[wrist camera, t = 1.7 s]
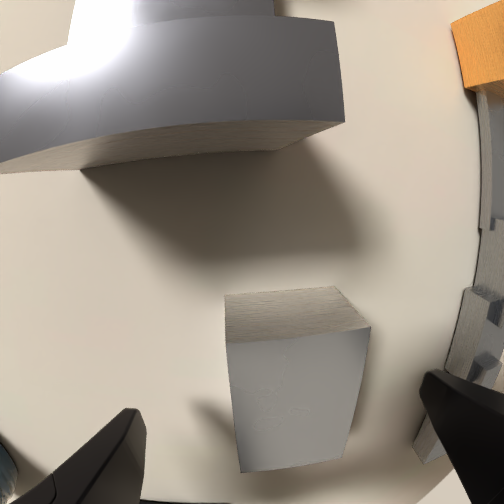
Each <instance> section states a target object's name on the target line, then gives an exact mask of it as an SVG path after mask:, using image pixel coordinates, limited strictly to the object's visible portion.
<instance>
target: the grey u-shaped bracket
mask: <svg viewBox="0 0 504 504" xmlns="http://www.w3.org/2000/svg"><path fill="white" fill-rule="evenodd" d="M344 122H345V115H344V102H343V91H342V80H341V71H340V62H339V54H338V47H337V39H336V33H335V26H334V22H332V21H325V20H317V19H309V18H298V17H285V16H275V11H274V1H273V0H76V4H75V8H74V13H73V18H72V23H71V28H70V34H69V40H68V45H66V46H64V47H61V48H58V49H55V50H53V51H50V52H48V53H45V54H42V55H40V56H38V57H35V58H33V59H31V60H28V61H26V62H24V63H22V64H19V65H17V66H15V67H13V68H11V69H9V70H7V71H5V72H3V73H1V74H0V174H7V173H21V172H37V171H58V170H80V169H86V168H91V167H97V166H103V165H109V164H116V163H122V162H129V161H136V160H144V159H152V158H161V157H170V156H180V155H190V154H203V153H217V152H233V151H257V150H278V149H281V148H283V147H285V146H287V145H290V144H292V143H294V142H297V141H299V140H302V139H304V138H306V137H309V136H311V135H314V134H316V133H319V132H321V131H324V130H326V129H329V128H331V127H334V126H336V125H339V124H342V123H344Z"/></svg>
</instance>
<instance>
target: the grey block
mask: <svg viewBox="0 0 504 504" xmlns="http://www.w3.org/2000/svg"><path fill="white" fill-rule="evenodd" d="M370 331H371V326H370V325H369V324H368V323H367V322H366V321H365V320H364V318H363V317H362V316H361V315H360V314H359V313H358V312H357V311H356V310H355V309H354V307H353V306H352V305H351V304H350V303H349V302H348V301H347V300H346V299H345V298H344V297H343V295H342V294H341V293H340V292H339V291H338V290H337V289H336V288H335V287H334V286H329V287H319V288H308V289H296V290H284V291H272V292H258V293H244V294H229V295H225V341H226V353H227V363H228V373H229V382H230V391H231V400H232V409H233V417H234V425H235V433H236V441H237V449H238V456H239V464H240V471H241V473H246V472H258V471H268V470H276V469H284V468H291V467H297V466H303V465H309V464H314V463H319V462H324V461H329V460H334V459H338V458H342V455H343V452H344V448H345V445H346V442H347V438H348V434H349V431H350V427H351V423H352V419H353V415H354V411H355V407H356V403H357V399H358V394H359V390H360V385H361V381H362V376H363V371H364V366H365V360H366V355H367V349H368V343H369V337H370Z"/></svg>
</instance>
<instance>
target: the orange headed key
mask: <svg viewBox="0 0 504 504" xmlns="http://www.w3.org/2000/svg"><path fill="white" fill-rule="evenodd" d="M451 27H452V31H453V35H454V38H455V42H456V47H457V51H458V55H459V60H460V65H461V70H462V75H463V81H464V87H465V88H467V89H469V90H472V91H475V92H476V98H477V106H478V114H479V124H480V136H481V156H482V195H481V215H480V227H479V228H482V236H481V245H480V253H479V260H478V266H477V272H476V278H475V284H474V286H473V287H468V288H465V292H464V297H463V302H462V306H461V311H460V315H459V319H458V323H457V327H456V331H455V335H454V339H453V342H452V346H451V349H450V352H449V356H448V359H447V362H446V365H445V368H446V369H447V370H448V371H449V372H450V374H452V375H454V376H457V377H460V378H462V379H465V380H467V381H470V382H473V383H475V384H478V385H481V386H484V387H486V388H489V389H492V387H493V385H494V383H495V380H496V378H497V376H498V373H499V371H500V368H501V366H502V362H500V361H499V360H500V357H501V355H502V352H503V349H504V0H501V1H498V2H496V3H493V4H491V5H489V6H487V7H484V8H482V9H480V10H478V11H475V12H473V13H471V14H469V15H467V16H465V17H463V18H461V19H459V20H457V21H455V22H453V23H451ZM412 447H413V449H414V450H415V452H416V453H417V455H418V457H419V458H420V460H421V461H422V463H423V464H425V463H428V462H430V461H432V460H434V459H436V458H439V457H441V456H443V455H445V454H447V453H446V451H445V449H444V447H443V445H442V444H441V442H440V440H439V438H438V436H437V434H436V432H435V430H434V428H433V426H432V424H431V421H430V419H429V416H428V414H427V415H426V418H425V420H424V422H423V424H422V426H421V429H420V431H419V433H418V435H417V437H416V439H415V441H414V443H413V445H412Z"/></svg>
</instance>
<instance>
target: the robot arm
mask: <svg viewBox="0 0 504 504" xmlns="http://www.w3.org/2000/svg"><path fill="white" fill-rule="evenodd" d="M419 394H420V398H421V400H422V402H423V405H424V407H425V409H426V412H427V414H428V416H429V419H430V421H431V424H432V426H433V428H434V430H435V432H436V434H437V436H438V438H439V440H440V442H441V444H442V445H443V447H444V449H445V451H446V453H447V455H448V457H449V459H450V461H451V463H452V465H453V467H454V469H455V470H456V472H457V474H458V476H459V478H460V480H461V483H462V485H463V487H464V489H465V491H466V493H467V495H468V497H469V499H470V501H471V504H504V394H503V393H500V392H497V391H494V390H492V389H489V388H486V387H484V386H481V385H478V384H475V383H473V382H470V381H467V380H465V379H462V378H460V377H457V376H454V375H452V374H449V373H447V372H444V371H441V370H439V369H433V370H430V371H427V372H426V373H425V375H424V378H423V381H422V384H421V387H420V391H419ZM146 435H147V432H146V426H145V424H144V421H143V419H142V416H141V413H140V411H139V410H138V409H135V408H125V409H123V410H122V411H121V412H120V413H119V414H118V415H117V416H116V417H114V418H113V419H112V420H111V421H110V422H109V423H108V424H107V425H106V426H104V427H103V428H102V429H101V430H100V431H99V432H98V433H97V434H96V435H94V436H93V437H92V438H91V439H90V440H89V441H88V442H87V443H85V444H84V445H83V446H82V447H81V448H80V449H79V450H78V451H76V452H75V453H74V454H73V455H72V456H71V457H70V458H68V459H67V460H66V461H65V462H64V463H63V464H62V465H60V466H59V467H58V468H57V469H56V470H55V471H53V474H52V473H51V474H50V475H49V476H47V477H46V478H45V479H44V480H43V481H41V482H40V483H39V484H38V485H36V486H35V487H34V488H33V489H31V490H30V491H28V492H27V493H25V494H24V495H22V496H21V497H19V498H18V499H16V500H15V501H13V502H11V503H10V504H165V503H154V502H145V501H140V496H141V490H142V484H143V478H144V468H145V449H146Z"/></svg>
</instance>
